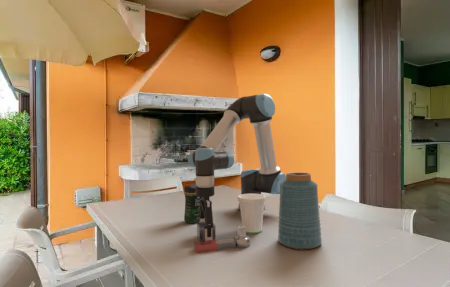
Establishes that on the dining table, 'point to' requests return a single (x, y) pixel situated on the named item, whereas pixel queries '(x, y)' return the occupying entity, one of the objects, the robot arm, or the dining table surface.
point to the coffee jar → (191, 204)
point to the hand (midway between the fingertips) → (205, 239)
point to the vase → (299, 212)
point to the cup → (252, 211)
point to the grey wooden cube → (202, 231)
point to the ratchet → (224, 242)
